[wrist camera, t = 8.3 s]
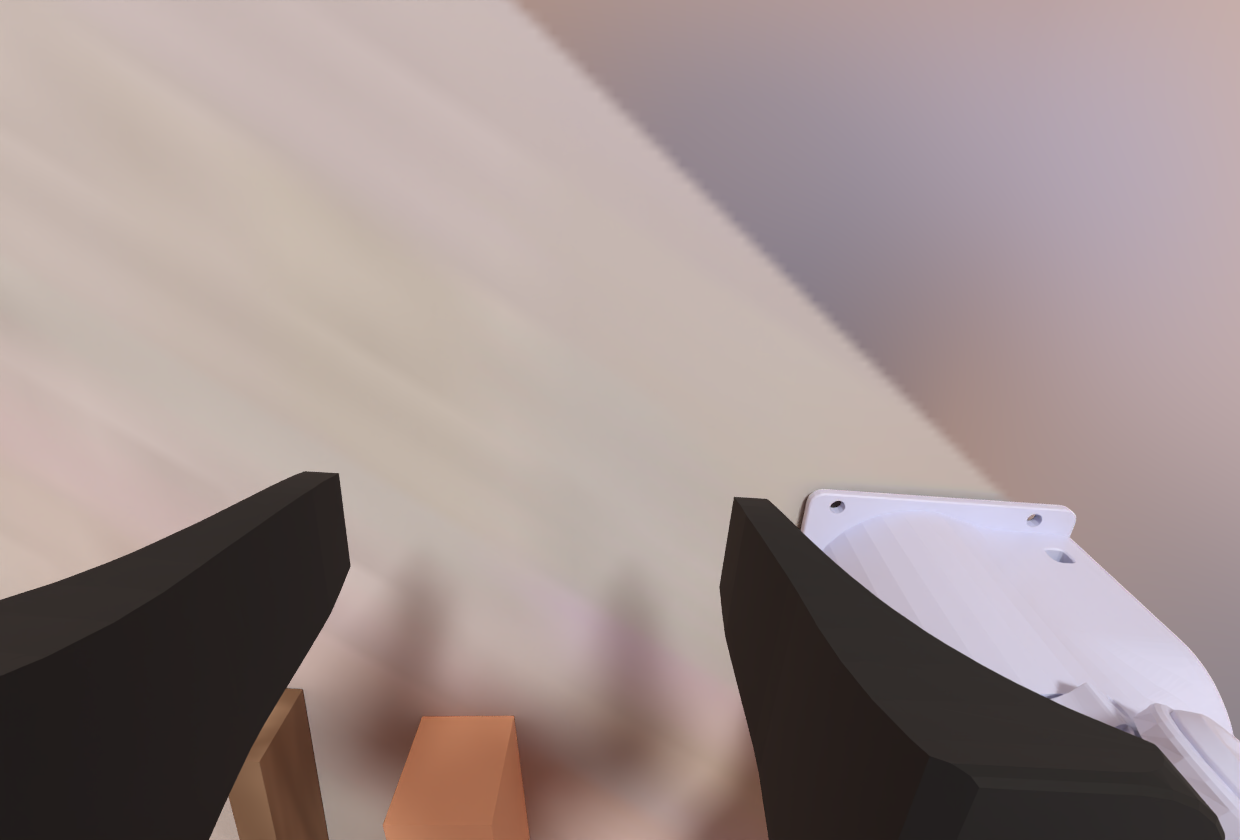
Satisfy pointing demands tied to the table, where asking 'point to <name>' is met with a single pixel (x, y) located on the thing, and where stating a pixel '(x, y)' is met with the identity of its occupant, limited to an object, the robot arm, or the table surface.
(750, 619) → the robot arm
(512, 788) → the block
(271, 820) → the wooden l-shaped bracket
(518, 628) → the table surface
